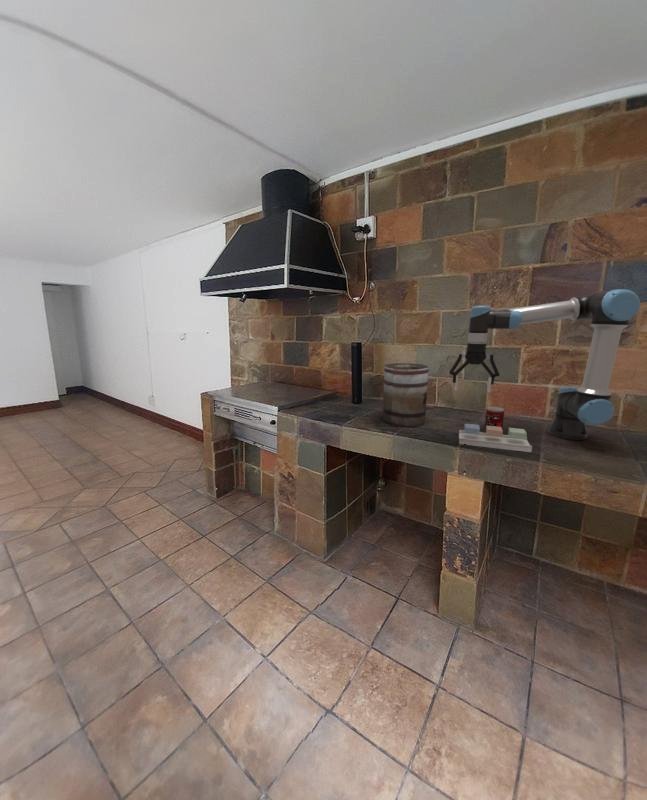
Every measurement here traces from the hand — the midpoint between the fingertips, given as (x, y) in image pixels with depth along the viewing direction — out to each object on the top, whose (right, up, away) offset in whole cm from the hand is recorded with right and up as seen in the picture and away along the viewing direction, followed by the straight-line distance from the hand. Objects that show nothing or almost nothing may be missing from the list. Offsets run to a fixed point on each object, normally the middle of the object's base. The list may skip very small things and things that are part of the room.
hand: (471, 390), depth 150 cm
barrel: (-23, -16, +32) cm, 43 cm away
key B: (+9, -20, -1) cm, 22 cm away
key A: (+18, -20, -4) cm, 27 cm away
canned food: (+18, -19, +17) cm, 32 cm away
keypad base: (+9, -23, 0) cm, 25 cm away
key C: (+1, -19, +2) cm, 19 cm away
